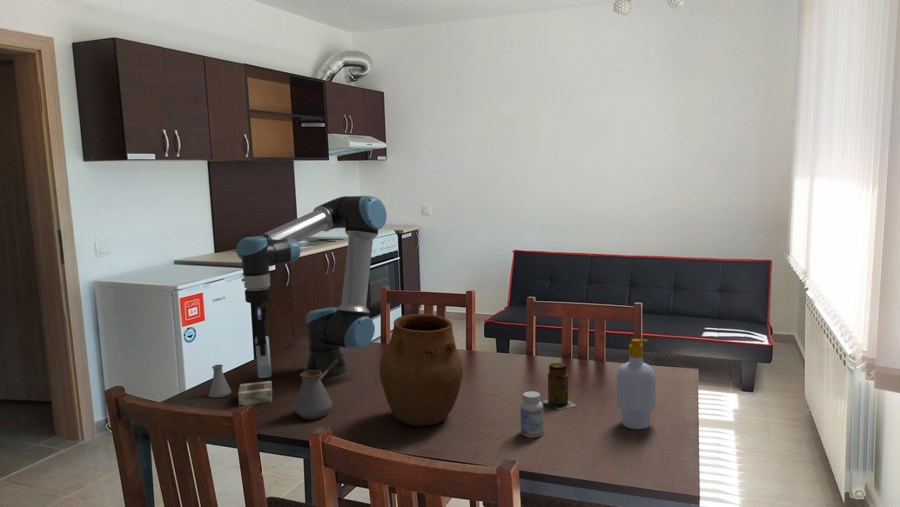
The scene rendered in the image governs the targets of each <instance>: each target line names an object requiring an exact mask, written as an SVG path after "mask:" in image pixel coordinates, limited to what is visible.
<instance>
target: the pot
mask: <svg viewBox="0 0 900 507" xmlns="http://www.w3.org/2000/svg"><path fill="white" fill-rule="evenodd" d="M379 363H380V364H379V378H380V383H381V386H382V389H383V392H384V395H385V398H386V402H387V405H388V406H389V408H390V411H391V412H392V414H393V416H394V417H395V418H396V420H398V421H399V422H402V423H404V424H407V425H411V426H415V427H416V426H417V427H426V426H432V425H434V426H435V425H438V424H439V423H441V422H443V421H444V420H446V419H447V417H448V416H449V415H450V413H451V411H452V410H453V408H454V406H455V404H456V402H457V398H458V396H459V393H460V389H461V386H462V380H463V376H464V368H463V361H462V357H461V356H460V354H459V352H458V349H457V345H456V341H455V335H454V333H453V323H452V321H451V320H449V319H447V318H445V317H443V316H440V315H437V314H430V313H414V314H408V315H401V316H399V317H396V319H394V320H393V330H392V333H391V336H390V340H389V342H388V347H387V348H386V349H385V351H384V353H383V355H382V357H381V359H380V362H379Z"/></svg>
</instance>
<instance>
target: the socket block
mask: <svg viewBox="0 0 900 507" xmlns="http://www.w3.org/2000/svg"><path fill="white" fill-rule="evenodd" d="M272 384H273V383H272V380H267V381H266V380H265V381H258V382H256V381H255V382H247V383H240V384H239V389H238V394H237V396H238V397H237V398H238V406H239V407H241V406H240V405H245V406H252V405H259V404H260V403H261V404H268V403H267V402H270V403H272V402H273V386H272Z"/></svg>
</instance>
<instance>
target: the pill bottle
mask: <svg viewBox="0 0 900 507" xmlns="http://www.w3.org/2000/svg"><path fill="white" fill-rule="evenodd" d="M522 399H523V401H522V402H521V403H520V433H521V435H522V436H524V437H525V438H530V439H532V438H539V437H542V436H543V435H544V431H545V430H544V405H543V404H544V403H543V402H542V401H541V393H539V391H533V390H531V391H526V392H524V393H522Z"/></svg>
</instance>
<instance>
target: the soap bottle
mask: <svg viewBox="0 0 900 507" xmlns="http://www.w3.org/2000/svg"><path fill="white" fill-rule="evenodd" d="M648 341H649V339H640V338H632V339H631V342H630V344H629V345H628V354H629V355H628V361H627V362H624V363H622V364H621V365H620V366H619V369H618V370H617V372H616V374H617V375H616V405H617V407H619V408H620V409H621V423H622V425H623V426H624V427H626V428H628V429H631V430H645V429H648V428H649V427H650V426H651V411H652V410H654V409H655V408H656V386H657V385H656V380H657V379H656V373H655V371H654V369H653V368H652V367H651V365H650V364H648V363H645V362H644V345H643V344H641V343H643V342H644V343H646V342H648Z"/></svg>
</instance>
